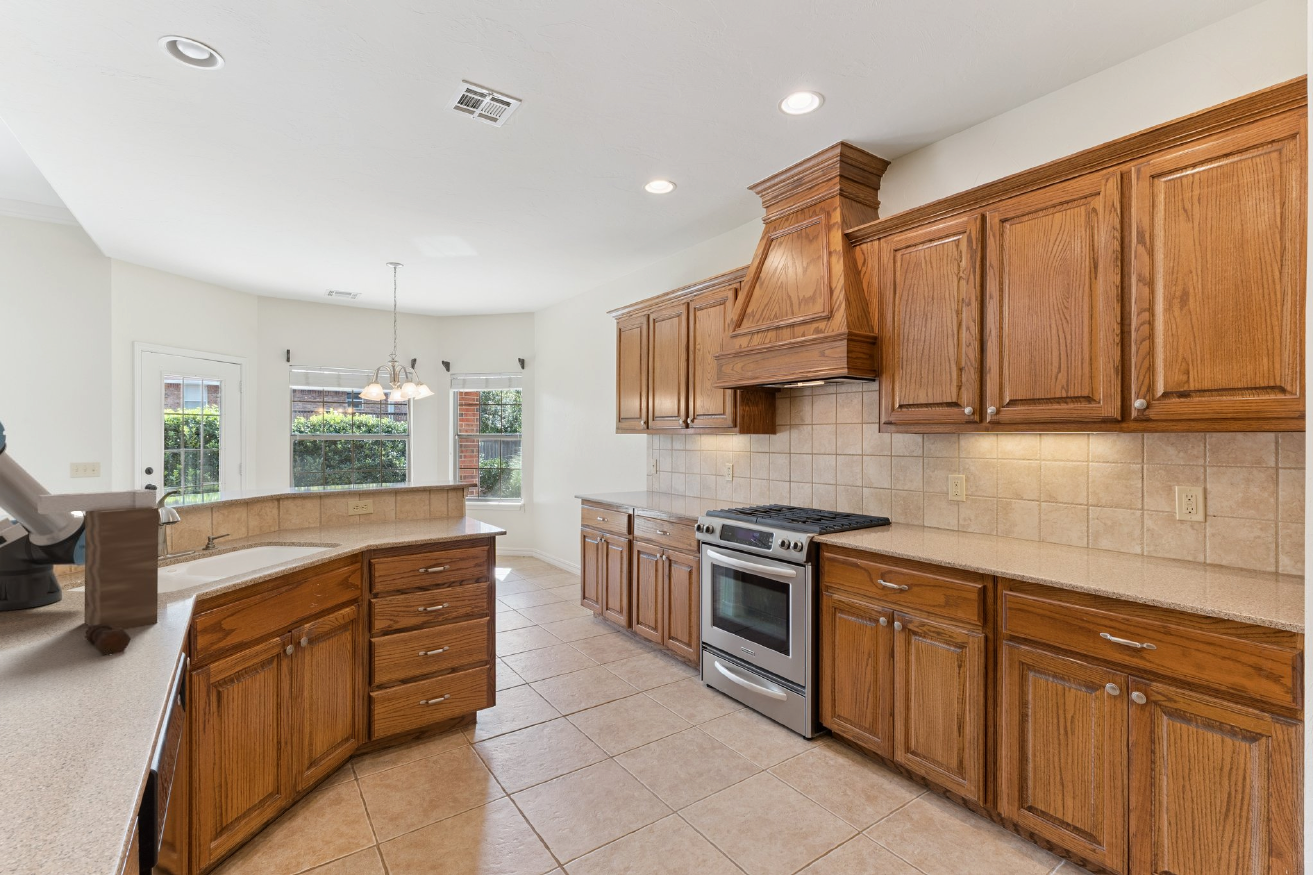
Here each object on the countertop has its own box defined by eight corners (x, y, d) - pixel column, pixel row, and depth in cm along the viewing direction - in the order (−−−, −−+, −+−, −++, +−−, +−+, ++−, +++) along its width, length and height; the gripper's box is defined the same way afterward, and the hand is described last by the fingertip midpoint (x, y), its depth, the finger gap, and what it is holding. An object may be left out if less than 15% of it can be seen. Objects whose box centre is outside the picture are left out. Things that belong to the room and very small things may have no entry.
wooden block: (84, 622, 148) (85, 507, 148) (139, 612, 157) (140, 504, 157) (100, 633, 140) (101, 512, 140) (157, 622, 149) (158, 508, 149)
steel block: (36, 512, 139) (36, 494, 139) (147, 504, 155) (147, 489, 155) (43, 514, 135) (43, 496, 135) (156, 506, 151) (156, 490, 151)
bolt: (99, 647, 137) (118, 659, 128) (72, 641, 133) (90, 653, 124) (116, 621, 139) (136, 632, 130) (90, 615, 136) (109, 625, 127)
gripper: (-107, 594, 128) (18, 533, 143) (-98, 616, 113) (41, 545, 128) (-137, 566, 125) (-5, 507, 140) (-130, 585, 110) (16, 516, 125)
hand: (17, 525), depth 134 cm, fingers open, 13 cm apart
